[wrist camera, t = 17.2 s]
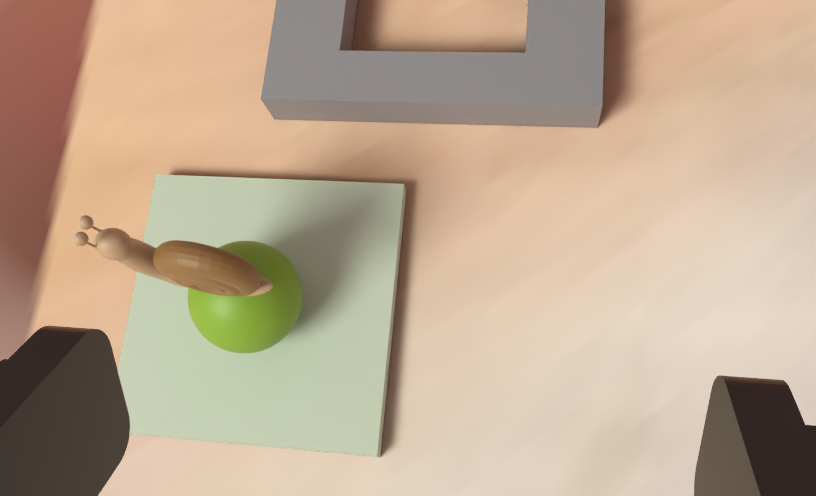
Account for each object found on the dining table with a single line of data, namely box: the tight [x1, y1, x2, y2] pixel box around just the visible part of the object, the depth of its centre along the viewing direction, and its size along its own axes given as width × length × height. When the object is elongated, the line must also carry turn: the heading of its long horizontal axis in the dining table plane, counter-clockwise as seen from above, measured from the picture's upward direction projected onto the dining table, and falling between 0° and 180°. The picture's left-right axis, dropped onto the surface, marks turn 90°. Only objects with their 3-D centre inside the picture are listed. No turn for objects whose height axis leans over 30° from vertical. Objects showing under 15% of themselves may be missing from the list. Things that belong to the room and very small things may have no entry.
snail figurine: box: [74, 216, 303, 353], centre depth 35 cm, size 5×6×12 cm
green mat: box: [118, 174, 406, 457], centre depth 41 cm, size 14×14×1 cm
